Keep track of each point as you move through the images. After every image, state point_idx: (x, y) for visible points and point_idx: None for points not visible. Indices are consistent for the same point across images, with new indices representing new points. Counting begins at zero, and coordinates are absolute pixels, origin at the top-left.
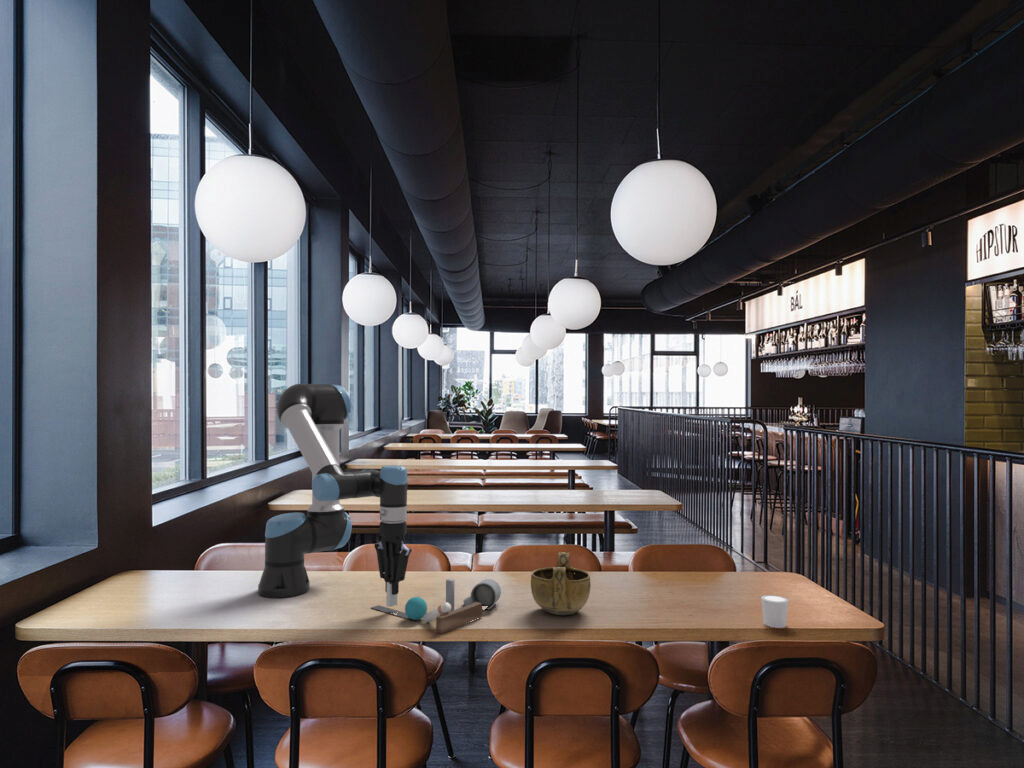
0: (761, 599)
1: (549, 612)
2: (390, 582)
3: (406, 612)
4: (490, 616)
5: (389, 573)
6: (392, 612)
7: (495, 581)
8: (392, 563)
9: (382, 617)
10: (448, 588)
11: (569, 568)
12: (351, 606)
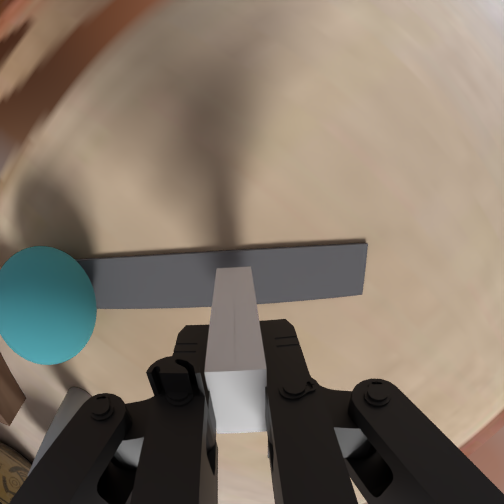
0: None
1: (3, 444)
2: (168, 368)
3: (44, 247)
4: (20, 409)
5: (274, 470)
6: (215, 270)
7: None
8: None
9: (198, 187)
10: (40, 454)
11: None
12: (448, 202)
